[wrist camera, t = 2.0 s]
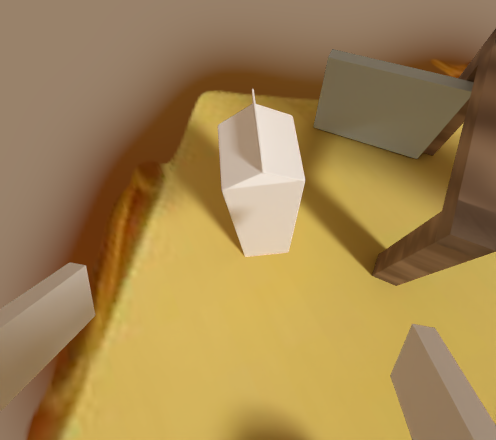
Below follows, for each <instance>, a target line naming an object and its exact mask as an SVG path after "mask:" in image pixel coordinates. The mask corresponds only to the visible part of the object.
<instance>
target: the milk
mask: <svg viewBox="0 0 496 440" xmlns="http://www.w3.org/2000/svg"><path fill="white" fill-rule="evenodd" d="M252 97H253V104H251V105H250V106H248V107H246V108H245V109H243V110H241V111H240V112H238V113H237V114H235V115H233V116H232V117H230V118H228V119H227V120H225V121H224V122H222V123H220V124H219V125H218V138H219V155H220V173H221V190H222V193H223V196H224V199H225V202H226V205H227V207H228V210H229V213H230V216H231V219H232V222H233V224H234V227H235V230H236V233H237V236H238V239H239V241H240V244H241V247H242V250H243V253H244V256H245V257H249V256H259V255H268V254H277V253H287V252H289V248H290V244H291V240H292V235H293V231H294V227H295V223H296V218H297V214H298V210H299V206H300V201H301V197H302V193H303V189H304V184H305V176H304V171H303V166H302V161H301V156H300V151H299V146H298V141H297V136H296V131H295V125H294V120H293V116H292V115H289V114H286V113H283V112H280V111H277V110H274V109H271V108H268V107H264V106H261V105H258V104H256V103H255V95H254V89H252Z"/></svg>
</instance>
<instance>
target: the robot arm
mask: <svg viewBox="0 0 496 440" xmlns="http://www.w3.org/2000/svg"><path fill="white" fill-rule="evenodd" d="M94 316H95V312H94V306H93V301H92V296H91V290H90V285H89V280H88V275H87V270H86V265H81V264H74V263H68V264H67V265H65V266H64V267H62V268H61V269H59V270H58V271H56V272H55V273H53V274H52V275H50V276H49V277H47V278H46V279H44V280H43V281H41V282H40V283H38V284H37V285H35V286H34V287H32V288H31V289H30V290H28V291H26V292H25V293H24V294H22V295H21V296H19V297H18V298H16V299H15V300H13V301H12V302H10V303H9V304H7V305H6V306H4V307H3V308H1V309H0V412H1V411H2V410H3V409H4V407H6V406H7V405H8V404H9V403H10V402H11V401H12V399H14V397H15V396H16V395H17V394H18V393H19V392H20V391H21V390H22V389H23V388H24V387H25V386H26V385H27V384H28V383H29V382H30V381H31V380H32V379H33V378H34V377H35V376H36V375H37V374H38V373H39V372H40V371H41V370H42V369H43V368H44V367H45V366H46V365H47V364H48V363H49V362H50V361H51V360H52V359H53V358H54V357H55V356H56V355H57V354H58V353H59V352H60V351H61V350H62V349H63V348H64V347H65V346H66V345H67V344H68V343H69V342H70V341H71V340H72V339H73V338H74V337H75V336H76V335H77V334H78V333H79V331H80V330H81V329H82V328H83V327H84V326H85V325H86V324H87V323H88V322H89V321H90V320H91V319H92V318H93V317H94ZM390 376H391V379H392V382H393V385H394V388H395V391H396V394H397V397H398V400H399V402H400V405H401V408H402V411H403V414H404V417H405V420H406V423H407V426H408V429H409V431H410V434H411V437H412V440H496V425H495V423H494V422H493V420H492V419H491V417H490V415H489V414H488V412H487V411H486V409H485V407H484V406H483V404H482V403H481V401H480V399H479V398H478V396H477V395H476V393H475V391H474V390H473V388H472V387H471V385H470V383H469V382H468V380H467V379H466V377H465V375H464V374H463V372H462V371H461V369H460V367H459V366H458V364H457V363H456V361H455V359H454V358H453V356H452V355H451V353H450V351H449V350H448V348H447V347H446V345H445V343H444V342H443V340H442V339H441V337H440V335H439V334H438V332H437V331H436V329H435V328H433V327H427V326H422V325H416V324H412V326H411V328H410V330H409V333H408V335H407V337H406V340H405V342H404V345H403V347H402V349H401V352H400V354H399V356H398V359H397V361H396V363H395V366H394V368H393V370H392V373H391V375H390Z"/></svg>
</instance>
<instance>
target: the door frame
mask: <svg viewBox="0 0 496 440" xmlns="http://www.w3.org/2000/svg"><path fill="white" fill-rule="evenodd" d="M458 79H462V80H467V81H471V82H474V84H473V88H472V92H471V96H470V98H469V99H468V100H467V102H466V103H465V104H464V105H463V106H462V107H461V109H460V110H459V111H458V112H457V113H456V114H455V116H454V117H453V118H452V119H451V120H450V121H449V123H448V124H447V125H446V126H445V127H444V128H443V129H442V131H441V132H440V133H439V134H438V135H437V136H436V138H435V139H434V140H433V141H432V142H431V143H430V145H429V146H428V147H427V148H426V149H425V150H424V152H423V153H426V154H429V155H434V154H435V153H436V151H437V150H438V149H439V148H440V147H441V146H442V145H443V144H444V143H445V142H446V141H447V140H448V139H449V138H450V137H451V135H452V134H453V133H454V132H455V131H456V130H457V129H458V128H459V127H460V126H461V125H462V124H463V123H464V124H463V128H462V132H461V136H460V140H459V145H458V149H457V153H456V157H455V161H454V165H453V169H452V173H451V177H450V181H449V185H448V189H447V193H446V197H445V201H444V205H443V210H442V211H441V212H440V213H438V214H437V215H435V216H434V217H432V218H431V219H430V220H428V221H427V222H425V223H424V224H422V225H421V226H419V227H418V228H417V229H415V230H414V231H412V232H411V233H409V234H408V235H406V236H405V237H403V238H402V239H401V240H399V241H398V242H396V243H395V244H393V245H392V246H390V247H389V248H388V249H386V250H385V251H383V252H382V253H380V254H379V255H378V258H377V261H376V264H375V268H374V271H373V274H372V276H374V277H376V278H379V279H381V280H384V281H386V282H388V283H391V284H393V285H396V286H397V285H400V284H403V283H406V282H409V281H411V280H414V279H417V278H420V277H423V276H426V275H429V274H432V273H435V272H438V271H440V270H443V269H446V268H449V267H452V266H455V265H458V264H461V263H464V262H467V261H469V260H472V259H475V258H478V257H481V256H484V255H487V254H490V253H493V252H496V29H495V30H494V32H493V33H492V34H491V36H490V37H489V38H488V40H487V41H486V42H485V44H484V45H483V46H482V48H481V49H480V50H479V52H478V53H477V54H476V56H475V57H474V58H473V60H472V61H471V62H470V64H469V65H468V66H467V68H466V69H465V70H464V72H463V73H462V74H461V76H460V77H459V78H458Z"/></svg>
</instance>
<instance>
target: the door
mask: <svg viewBox="0 0 496 440" xmlns="http://www.w3.org/2000/svg"><path fill="white" fill-rule="evenodd" d="M473 84H474V82H471V81H467V80H462V79H458V78H454V77H449V76H445V75H441V74H437V73H432V72H428V71H423V70H419V69H415V68H411V67H407V66H402V65H398V64H394V63H390V62H385V61H381V60H376V59H372V58H368V57H364V56H360V55H355V54H350V53H347V52H343V51H338V50H334V49H332V51H331V53H330V55H329V57H328V61H327V66H326V70H325V75H324V80H323V85H322V89H321V94H320V99H319V103H318V108H317V113H316V117H315V122H314V128H318V129H321V130H324V131H327V132H331V133H334V134H337V135H340V136H344V137H347V138H350V139H353V140H357V141H360V142H363V143H366V144H370V145H373V146H376V147H379V148H383V149H386V150H389V151H392V152H396V153H399V154H402V155H405V156H408V157H412V158H415V159H418V157H419V156H420V155H421V154H422V153H423V152H424V150H425V149H426V148H427V147H428V146H429V145H430V143H431V142H432V141H433V140H434V139H435V138H436V136H437V135H438V134H439V133H440V132H441V131H442V129H443V128H444V127H445V126H446V125H447V124H448V123H449V121H450V120H451V119H452V118H453V117H454V116H455V114H456V113H457V112H458V111H459V110H460V109H461V107H462V106H463V105H464V104H465V103H466V102H467V100H468V99H469V98H470V96H471V92H472V88H473Z"/></svg>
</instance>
